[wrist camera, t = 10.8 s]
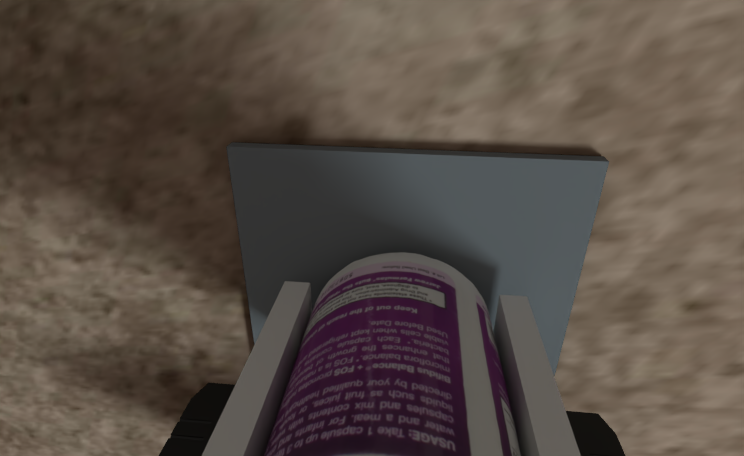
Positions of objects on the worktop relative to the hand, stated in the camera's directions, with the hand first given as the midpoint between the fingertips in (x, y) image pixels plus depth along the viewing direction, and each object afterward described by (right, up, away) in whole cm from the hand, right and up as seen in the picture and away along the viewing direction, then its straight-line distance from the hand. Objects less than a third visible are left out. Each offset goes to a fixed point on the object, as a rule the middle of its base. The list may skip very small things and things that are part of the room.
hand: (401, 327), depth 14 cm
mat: (0, +1, +1) cm, 1 cm away
